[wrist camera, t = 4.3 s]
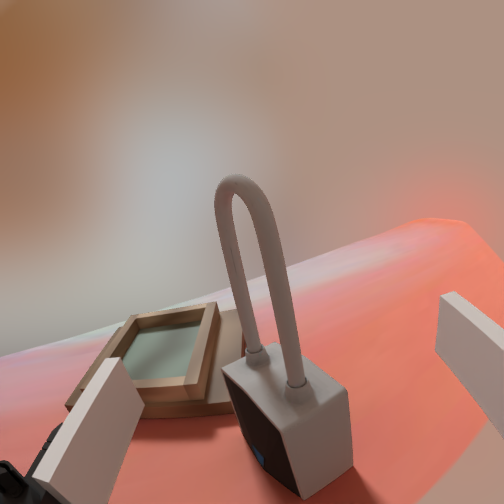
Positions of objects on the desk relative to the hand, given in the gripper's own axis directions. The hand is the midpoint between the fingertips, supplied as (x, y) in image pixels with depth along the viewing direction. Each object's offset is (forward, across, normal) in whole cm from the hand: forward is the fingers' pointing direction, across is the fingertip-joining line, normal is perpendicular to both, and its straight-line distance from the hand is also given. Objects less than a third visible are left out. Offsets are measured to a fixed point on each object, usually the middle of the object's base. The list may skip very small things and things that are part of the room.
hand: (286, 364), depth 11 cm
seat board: (+12, -11, -8) cm, 19 cm away
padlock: (+2, -1, -8) cm, 8 cm away
